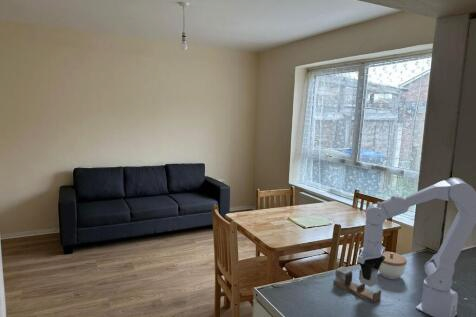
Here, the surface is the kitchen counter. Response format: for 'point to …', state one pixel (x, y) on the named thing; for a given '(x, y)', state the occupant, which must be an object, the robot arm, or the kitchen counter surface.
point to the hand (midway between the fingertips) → (369, 276)
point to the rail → (354, 285)
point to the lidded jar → (392, 265)
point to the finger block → (372, 279)
